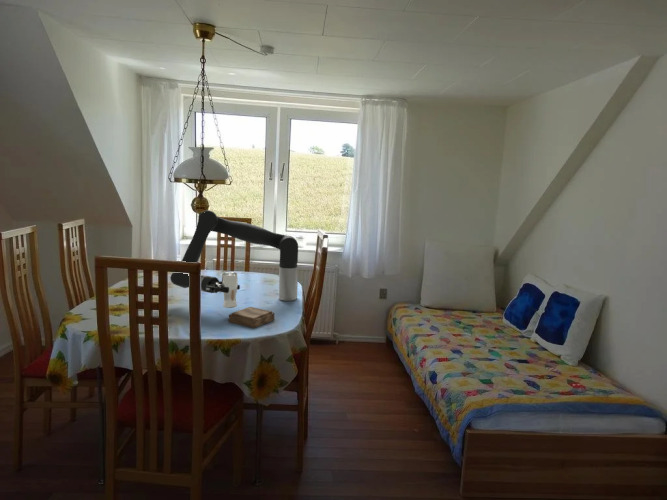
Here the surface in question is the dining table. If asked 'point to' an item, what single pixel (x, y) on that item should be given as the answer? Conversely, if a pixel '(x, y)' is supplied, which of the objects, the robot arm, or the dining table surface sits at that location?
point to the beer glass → (230, 289)
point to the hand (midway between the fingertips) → (233, 288)
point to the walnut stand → (251, 317)
